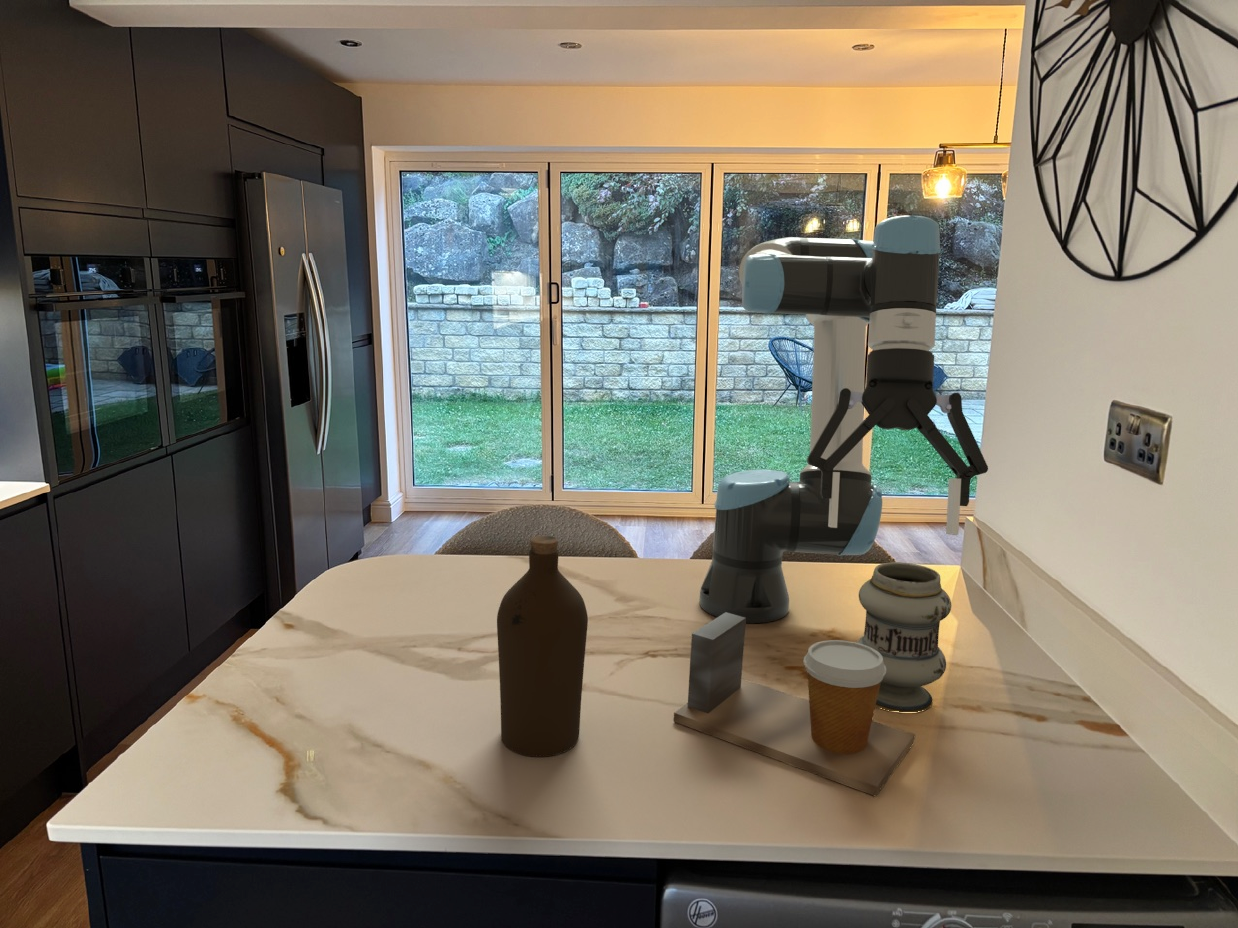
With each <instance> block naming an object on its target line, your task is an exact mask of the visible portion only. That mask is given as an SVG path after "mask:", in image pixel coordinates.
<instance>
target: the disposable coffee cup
mask: <svg viewBox="0 0 1238 928" xmlns="http://www.w3.org/2000/svg"><path fill="white" fill-rule="evenodd" d="M856 642H857V641H856ZM856 642H855V641H848V640H843V639H827V640H822V641H817V642H814V643H813V644H811V645H810V646H809V647H808V649H807V654H805V655H804V657H803V664H804V666H805V670H806V671H807V687H808V689H807V690H808V700H809V707H810V722H811V737H812V739H813V741H814V742H815V743H816V744H817V745H819V746H820V747H822V748H824V749H826V750H829V751H833V752H836V753H844V754H848V753H849V754H851V753H857V752H860V751H862V750H864V748H866V745H867V741H868V736H869V732H870V728H871V723H872V721H873V718H874V714H875V709H876V707H875V705H876V701H877V696H878V692H879V688H880V683H881V681H882V679H883V677H884V676H885V674H886V670H887V669H886V666H885V665H884V662H883V657H882V655H881V654H880V653H879V652H878V651H876V650H875V649H873V648H871V647H869V646H866V645H863V644H860V643H856Z"/></svg>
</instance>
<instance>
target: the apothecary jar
mask: <svg viewBox="0 0 1238 928" xmlns="http://www.w3.org/2000/svg"><path fill="white" fill-rule="evenodd" d="M858 601H859V603H860V605H861V606H862V607H863V609H865V622H864V632H863V635H862V636H861V637H860V638H858V640H856V643H860V644H863V645H866V646H869V647H871V648H873V649H875V650H876V651H878V652H879V653H880V654H881V655H882V657H883V662H884V665H885V666H886V669H887V670H886V674H885V676H884V677H883V679H882V681H881V683H880V688H879V692H878V696H877V701H876V705H875V708H877V709H879V708H882V709H885V710H889V711H899V712H918V711H922V710H925V709H927V710H929V709H930V708H931V707H932V705H933V698H932V695H931V693H929V691H927V689H925V688H924V686H927V685H930V684H932V683H934V682H936V681H937V680H939V679H940V678H941V677H942V676H943V675H944V673H945V672H946V669H947V660H946V657H945V654H944V652H943V651H942V649H941V648H940V647H939V635H940V625H941V621H943V620H945V619H946V618H947V617H948V616H949V615H950V613H951V610H952V600H951V597H950V596H949V594H948V593H947V592H946V591H945V590H944V589H943V588H942V585H941V575H940V574H939V572H937V571H936V570H935V569H933V568H930V567H927V566H924V565H921V564H915V563H910V562H902V561H901V562H896V561H894V562H893V561H892V562H884V563H880V564H878V565H877V566H875V568H874V569H873V574H872V576H871V578H869V579H868V580H867V581H865V582H864V583H863V584H862V585H861V587H860V588H859V591H858ZM930 706H931V707H930ZM929 707H930V708H929ZM928 708H929V709H928ZM882 709H881V710H882ZM885 710H884V711H885ZM889 711H888V712H889ZM925 711H926V710H925Z"/></svg>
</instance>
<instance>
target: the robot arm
mask: <svg viewBox="0 0 1238 928" xmlns="http://www.w3.org/2000/svg"><path fill="white" fill-rule="evenodd" d="M940 237H941V235H940V226H939V224H938V223H937V221H935V219H932V218H930V217H926V216H924V215H923V216H921V215H898V216H893V217H892V216H891V217H889V218H886V219H883V220H881V221H880V222H879V223H877V224H876V226H875V228H874V234H873V240H863V239H857V238H853V237H852V238H847V239H846V238H823V237H822V238H821V237H819V238H818V237H800V236H799V237H796V236H795V237H793V236H788V237H782V238H781V237H780V238H776V239H772V240H766V241H764V242H761V243H758V244H756V245H754V246H753V247H751V248H750V249H749V250H747V252H746V253H745V254H744V255H743V256H742V258H741V260H740V263H739V266H738V279H739V283H740V286H741V305H742V307H743V309H744V310H745V311H746V312H752V313H753V312H754V313H761V314H765V315H772V314H783V315H784V314H789V315H792V314H793V315H805V319H806V320H807V321H808V323H810V324H811V325H812V326H813V327H814V331H813V332H814V333H813V334H814V336H813V359H812V360H813V361H812V363H813V364H812V386H811V387H812V389H811V391H812V392H811V415H810V416H811V418H810V443H809V444H810V445H809V447H810V449H809V455H808V456H807V458H806V463H807V464H806V466H805V467H804V468H803V469H801V470H800V472H799V481H791V479H790V477H789V475H788V473H786V472H785V471H781V470H775V469H765V468H764V469H749V470H741V471H735V472H733V473H729V474H728V475H726V476H724V477H723V478H721V479H720V481H719V483H718V486H717V491H716V497H715V498H716V500H715V502H714V509H715V516H714V517H715V521H714V529H713V530H714V531H713V543H712V558H711V562H710V565H709V567H708V570H707V573H706V575H705V577H704V580H703V582H702V584H701V587H700V590H699V602H698V603H699V606H700V607H701V609H702V610H703V611H705V612H706V613H708V614H710V615H712V616H714V617H716V618H717V617H719V616H720V615H722V614H724V613H725V612H727V613H730V614H734V615H738V616H741V617H745V618H746V623H745V624H747V623H749V624H750V623H751V624H759V623H769V622H775V621H778V620H780V619H782V618H784V617H786V616H787V614H788V613H789V607H790V597H789V596H790V595H789V591H788V587H787V583H786V580H785V575H784V571H783V567H782V564H783V553H784V552H793V553H794V552H795V553H807V554H808V553H809V554H824V555H837V556H861V555H864V554H866V553H867V552H869V551H870V550H871V548H872V546H873V545H874V542H875V540H876V538H877V534H878V531H879V527H880V524H881V518H882V512H883V511H882V510H883V498H882V497H883V491H882V489H881V487H879V486H877V485H875V484H873V485H872V473H871V472H870V471H869V470H868V469H867V468H866V467H865V466H864V464H863V454H864V453H863V450H864V449H863V448H864V447H863V446H864V444H863V443H864V442H863V441H864V437H865V436H866V435H867V434H868V433H869V432H871V430H872V429H873V428H875V426H877V427H878V428H880V429H881V430H893V429H897V430H900V431H911V430H913V429H917V430H918V431H919V433H920V434H921V435H922V436H923V437H924V438H925V439H926V440H927V441H928V443H929V444H930V446H932V448H933V449H934V450H935V451H936V453H937V454H938V456H940V458H941V459H942V460H943V461H944V463H945V464H946V466H948V467H949V469H950V470H951V472H952V473H953V474H954V475H955V476H956V477H955V478H954V477H953V478H948V485H947V486H948V489H947V491H948V492H947V508H946V528H945V529H946V531H945V533H946V535H950V536H959V531H960V528H959V527H960V510H961V507H968V505H969V503H970V493H971V492H970V490H971V489H970V488H971V480H972V479H973V478H974V477H975V476H979V475H982V474H986V473H987V472H989V471H988V470H989V466H988V464H987V461H986V459H985V458H984V456H983V453H982V450H981V448H980V447H979V445H978V442H977V441H976V439H975V436H974V434H973V431H972V429H971V427H970V425H969V422H968V421H967V418H966V417H965V414H964V412H963V403H962V396H961V394H960V393H959V392H953V393H951V394H945V395H944V394H941V395H936V394H935V390H934V369H935V367H934V366H935V355H934V354H933V352H931V350H932V349H933V348H934V347H935V346H936V327H937V326H936V323H937V322H936V321H937V318H936V317H937V307H938V305H937V303H938V302H937V301H938V286H939V285H938V283H939V269H940V254H941V253H942V248H941V242H940ZM867 325H868V339H867V340H868V341H867V346H868V347H869V349H871V350H872V351H870V352H869V354H867V361H866V335H867V331H866V330H867ZM866 362H867V363H866ZM865 366H866V367H865ZM865 368H866V376H865ZM865 377H866V380H865ZM936 406H938V407H939V408H940V411H941V412H942V413H944V414H946V415H947V419H948V422H949V424H950V426H951V428H952V430H953V432H954V433H953V434H955V436H956V439H957V441H958V443H959V445H960V448H961V450H962V453H963V454H964V456H965V459H966V461H967V463H968V465H967V464H966V462H965V461H964V460H963V459H962V457H961V456H960V455H959V454H958V453H957V451H956V450H955V449H954V448H953V446H952V445H951V444H950V442H949V441H948V440H947V439H946V437H945V436H944V435H943V433H941V432H940V430H939V429H938V428H937V425H936V424H935V423H934V421H933V420H932V419H931V418H930V416H929V414H930V413H931V411H933V409H934V408H935V407H936ZM864 409H865V410H866V412H867V413H868V416H866V417H865V418H864V412H865V411H864Z"/></svg>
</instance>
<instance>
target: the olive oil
mask: <svg viewBox="0 0 1238 928" xmlns="http://www.w3.org/2000/svg"><path fill="white" fill-rule="evenodd" d="M529 544H530V549H529V550H528V564H529V566H528V570H527V572H525V573H524V574H523V575H522V577H520V578H519V579H518V580H517V581H516V582H515V583H514V584H513V585H512V586H511V587H510V588H509V589H508V590H507V591H506V592H505V594H504V595H503V597H502V599H501V602H500V604H499V607H498V611H497V616H496V630H497V631H496V632H497V652H498V653H497V654H498V670H499V671H498V673H499V675H498V676H499V695H500V696H499V697H500V699H499V700H500V735H501V742H502V743H503V744H504V746H506V747H507V748H508V750H511V751H512V752H514V753H517V754H519V755H523V756H528V757H537V758H538V757H541V758H542V757H551V756H556V755H559V754H563V753H565V752H568V750H570V749H571V748H573V747H574V746H575V745H576V744H577V742H578V741H579V738H580V726H581V709H582V694H583V693H582V692H583V683H584V681H583V680H584V672H585V671H584V669H585V658H586V649H587V648H586V647H587V645H586V644H587V634H588V627H589V626H588V625H589V624H588V623H589V622H588V621H589V620H588V618H589V617H588V611H587V610H588V609H587V607H586V603H585V600H584V597H582V594H581V593H580V592H579V590H578V589H576V588H575V586H574V585H573V584H572V583H571V582H570V581H569V580H568V579H567V578H566V577H565V576H564V575H563V574H562V573H561V572H560V570H559V554H560V553H559V549H558V545H559V540H558V538H556V537H554V536H551V535H537V536H533V537H532V538H530V542H529Z"/></svg>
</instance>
